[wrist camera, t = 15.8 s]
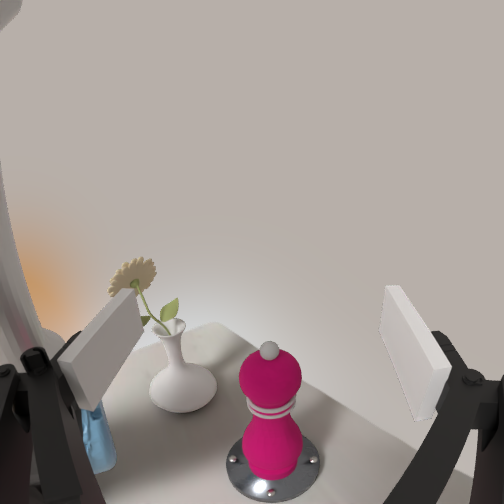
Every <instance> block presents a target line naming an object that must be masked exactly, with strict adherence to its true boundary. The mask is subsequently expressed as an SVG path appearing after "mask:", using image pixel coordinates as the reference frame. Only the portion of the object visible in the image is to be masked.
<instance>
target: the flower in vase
mask: <svg viewBox="0 0 504 504" xmlns="http://www.w3.org/2000/svg"><path fill="white" fill-rule="evenodd" d="M153 265H154V262H152V259H148V260H146V261H145V262H144V263H143V257H139V258H138V260H137V259H136V258H135V259H133V260H132V261H131V263H130V264H129V263H127V262H125V263H123V264H122V269H118V270H117V271H116V274H115V275H114V277H113V278H111V279H110V283H111V285H112V286H110V287H109V288H108V290H107V292H108V293H109V295H110V296H111V297H114V296H115V295H116V294H117V293H118V292H119V291H120V290H121V289H122V288H128V289H134V290H135V295H136V297H137V295H138V294H140V295H141V298H142V300H143V302H144V304H145V307H146V309H147V312H148V314H149V315H150V316H151V317H152V318H153V319H154V320H155V321H156V322H157V323H155V324H154V325H153V327H152V332H153V333H154V334H155V335H156V336H158V337H159V338H160V339H161V341H162V342H163V344H164V346H165V349H166V352H167V355H168V359H169V366H167V367H165V368H164V369H162V370H161V371H160V372H159V373H158V374H157V375H156V376H155V377H154V378H153V379H152V381H151V384H150V389H149V394H150V398H151V400H152V401H153V402H154V403H155V404H156V405H157V406H158V407H160V408H162V409H164V410H166V411H169V412H175V413H186V412H191V411H195V410H197V409H199V408H201V407H203V406H205V405H206V404H207V403H208V402H209V401H210V400H211V399H212V398H213V396H214V395H215V393H216V390H217V382H216V379H215V377H214V376H213V375H212V373H211V372H210V371H209V370H207V369H206V368H204V367H202V366H199V365H196V364H193V363H185V361H184V359H183V356H182V352H181V335H182V333H183V331H184V329H185V327H186V325H185V322H184V321H183V320H181V319H177V318H174V317H175V316H176V314H177V311H178V298H176V299H175V300H173V301H172V302H170V303H169V304H167V305H165V306H164V307H163V308H162V309H161V311H160V320H161V321H159V320H157V319H156V318H155V317H154V316H153V315H152V314H151V313H150V311H149V309H148V306H147V304H146V302H145V299H144V297H143V295H142V292H143V291H144V289H147V288H148V287H149V286H150V285H151V284H150V283H151V282H152V281H153V279H154V277H155V275H156V272H155V270H156V267H155V266H153ZM150 316H140V317H141V321H142V325H143V326H145V325H146V324H147V322H148V321H149V320H150Z"/></svg>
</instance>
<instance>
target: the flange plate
mask: <svg viewBox="0 0 504 504" xmlns="http://www.w3.org/2000/svg"><path fill="white" fill-rule="evenodd" d="M242 439H243V437H242V438H241V439H240V440H238V441H237V442H236V443H235V444H234V445H233V447H232V448H231V450H230V451H229V454H228V456H227V461H226V468H227V473H228V476H229V479H230V481H231V483H232V485H233V486H234V487H235V488H236V489H237V490H238V491H239V492H240V493H241V494H243V495H244V496H246V497H248V498H250V499H253V500H256V501H260V502H267V503H277V502H284V501H287V500H291V499H293V498H296V497H298V496H299V495H301V494H303V493H304V492H305V491H307V490H308V489H309V488H310V487H311V485H312V484H313V483H314V481H315V479H316V477H317V475H318V470H319V465H320V460H319V455H318V451H317V450H316V448H315V446H314V445H313V444H312V443H311V441H310V440H308V439H307V438H306V437H304V436H303V435H302V439H303V448H302V452H301V454H300V456H299V457H298V461H297V466H296V468H295V470H294V471H293V472H292V473H291V474H290V475H289V476H287V477H285V478H283V479H279V480H265V479H262V478H259V477H258V476H256V475H255V474H254V473H253V472H252V471H251V469H250V467H249V463H248V460H247V458H246V457H245V455H244V453H243V449H242Z"/></svg>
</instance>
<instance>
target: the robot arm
mask: <svg viewBox="0 0 504 504" xmlns="http://www.w3.org/2000/svg"><path fill="white" fill-rule="evenodd" d="M21 4H22V0H0V31H1V30H2V29H3V28H4V27H5V26H6V25H7V24H8V23H9V22H10V21H11V20H12V19H13V18H14V17H15V16H16V15H17V14H18V12H19V11H20V8H21ZM143 332H144V329H143V325H142V321H141V317H140V313H139V308H138V304H137V300H136V295H135V290H134V289H128V288H122V289H121V290H120V291H119V292H118V293H117V294H116V295H115V296H114V297H113V299H112V300H111V301H110V302H109V303H108V304H107V305H106V306H105V307H104V308H103V309H102V310H101V311H100V312H99V313H98V315H97V316H96V317H95V318H94V319H93V320H92V321H91V322H90V323H89V324H88V325H87V326H86V328H85V329H84V330H83V331H79V332H78V333H76V334H74V335H73V336H72V337H71V338H70V339H69V340H68V341H67V343H65V341H64V340H63V339H62V338H61V336H59V335H58V334H57V333H55V332H53V331H50V330H48V329H45V328H42V327H41V324H40V321H39V319H38V316H37V313H36V311H35V308H34V305H33V303H32V299H31V296H30V293H29V290H28V287H27V284H26V281H25V277H24V274H23V271H22V267H21V264H20V260H19V257H18V253H17V249H16V245H15V241H14V237H13V232H12V228H11V223H10V218H9V214H8V208H7V203H6V197H5V191H4V185H3V178H2V171H1V163H0V504H106V502H105V500H104V498H103V495H102V493H101V490H100V488H99V485H98V483H97V480H96V478H95V475H94V474H98V473H101V472H105V471H108V470H110V469H112V468H113V467H114V465H115V464H116V461H117V454H116V450H115V446H114V443H113V439H112V436H111V432H110V429H109V425H108V422H107V418H106V415H105V411H104V407H103V404H102V400H101V399H102V397H103V395H104V394H105V392H106V390H107V389H108V387H109V386H110V384H111V382H112V381H113V379H114V378H115V376H116V374H117V373H118V371H119V370H120V368H121V367H122V365H123V363H124V362H125V360H126V359H127V357H128V356H129V354H130V352H131V351H132V349H133V347H134V346H135V345H136V343H137V342H138V340H139V339H140V337H141V335H142V334H143ZM379 333H380V335H381V337H382V340H383V342H384V345H385V347H386V349H387V352H388V354H389V356H390V359H391V361H392V364H393V366H394V369H395V371H396V374H397V376H398V379H399V382H400V384H401V387H402V389H403V392H404V395H405V397H406V400H407V403H408V405H409V408H410V411H411V414H412V416H413V419H414V421H421V420H426V419H431V417H432V416H433V413H434V411H435V409H436V410H437V412H438V415H437V417H436V419H435V421H434V423H433V425H432V427H431V428H430V430H429V432H428V434H427V436H426V438H425V439H424V441H423V443H422V445H421V446H420V448H419V450H418V451H417V453H416V455H415V456H414V458H413V460H412V461H411V463H410V465H409V466H408V468H407V469H406V471H405V472H404V474H403V475H402V477H401V479H400V480H399V482H398V483H397V484H396V486H395V487H394V489H393V490H392V492H391V493H390V495H389V496H388V497H387V499H386V500H385V501H384V503H383V504H436V503H437V501H438V499H439V497H440V495H441V493H442V491H443V490H444V488H445V486H446V484H447V482H448V480H449V478H450V476H451V474H452V471H453V469H454V467H455V465H456V463H457V461H458V458H459V456H460V454H461V451H462V449H463V447H464V444H465V442H466V440H467V437H468V435H469V432H470V429H478V442H477V453H476V463H475V471H474V479H473V485H472V492H471V497H470V503H469V504H504V375H503V377H502V379H501V381H492V380H485V378H484V376H483V375H482V374H481V373H480V372H478V371H476V370H474V369H468V368H467V366H466V364H465V363H464V361H463V360H462V358H461V357H460V355H459V354H458V352H457V351H456V349H455V348H454V346H453V345H452V343H451V342H450V340H449V339H448V337H447V336H446V335H444V334H443V333H441V332H440V331H432V332H430V330H429V329H428V327H427V326H426V324H425V323H424V321H423V319H422V318H421V316H420V315H419V313H418V312H417V311H416V309H415V308H414V306H413V305H412V303H411V302H410V300H409V299H408V297H407V296H406V294H405V293H404V292H403V290H402V289H401V287H400V286H399V285H390V286H385V293H384V301H383V308H382V315H381V321H380V327H379Z"/></svg>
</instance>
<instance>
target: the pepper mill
mask: <svg viewBox="0 0 504 504" xmlns="http://www.w3.org/2000/svg"><path fill="white" fill-rule="evenodd" d="M301 380H302V375H301V369H300V366H299V363H298V362H297V360H296V359H295V358H294V357H293V356H292V355H291V354H289V353H288V352H286V351H283V350H280V349H279V347H278V345H277V344H276V343H274V342H272V341H267V342H265V343H263V344H262V345H261V347H260V350H258V351H256V352H254V353H252V354H250V355H249V356H248V357H247V358H246V359H245V361H244V362H243V364H242V366H241V369H240V373H239V382H240V387H241V389H242V391H243V393H244V394H245V395H246V399H247V407H248V409H249V410H250V411H251V412H252V413H253V419H252V421H251V422H250V424H249V425H248V426H247V428H246V430H245V433H244V435H243V439H242V449H243V453H244V455H245V457H246V458H247V460H248V463H249V467H250V469H251V471H252V472H253V473H254V474H255V475H256V476H258V477H259V478H262V479H265V480H279V479H283V478H285V477H287V476H289V475H290V474H291V473H292V472H293V471H294V470H295V468H296V466H297V461H298V457H299V456H300V454H301V452H302V448H303V439H302V434H301V432H300V429H299V427H298V426H297V424H296V423H295V422H294V420H293V419H292V417H291V415H290V412H291V411H292V410H293V408H294V406H295V403H296V393H297V391H298V390H299V388H300V385H301Z"/></svg>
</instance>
